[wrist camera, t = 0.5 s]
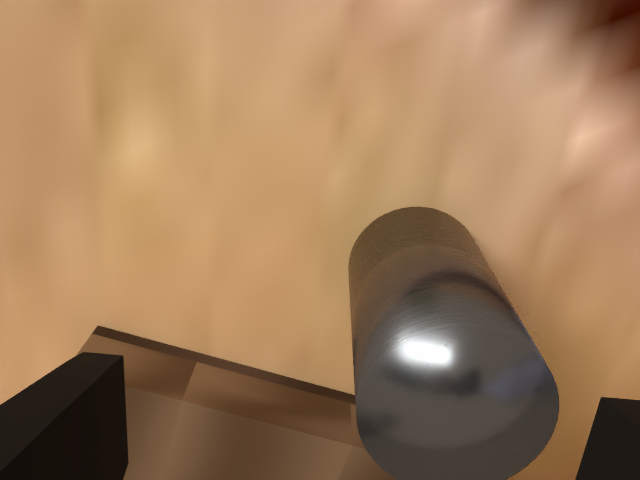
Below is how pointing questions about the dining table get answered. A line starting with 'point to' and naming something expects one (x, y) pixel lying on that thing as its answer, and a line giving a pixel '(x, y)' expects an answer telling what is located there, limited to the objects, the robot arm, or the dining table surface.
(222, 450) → the socket block
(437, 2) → the dining table surface
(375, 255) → the pin
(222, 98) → the dining table surface
